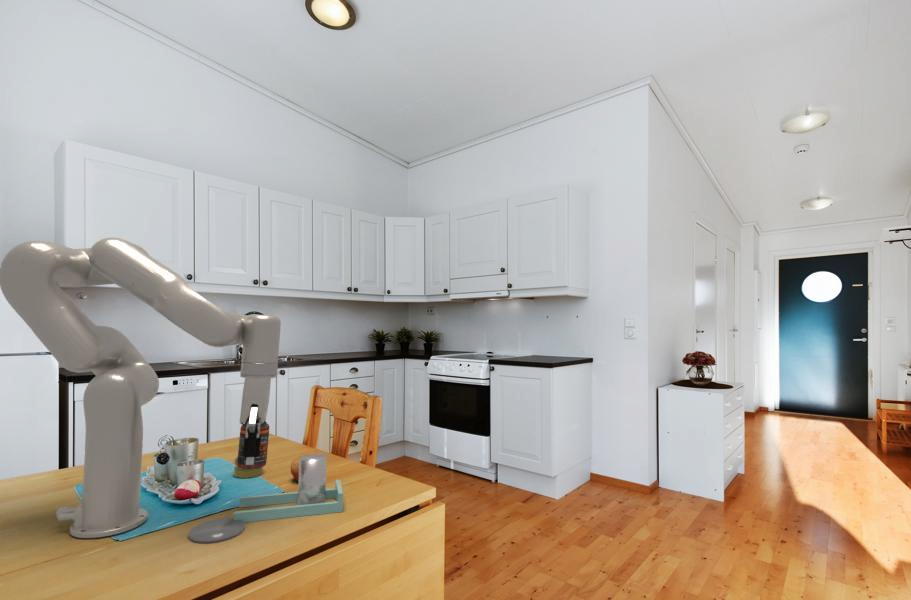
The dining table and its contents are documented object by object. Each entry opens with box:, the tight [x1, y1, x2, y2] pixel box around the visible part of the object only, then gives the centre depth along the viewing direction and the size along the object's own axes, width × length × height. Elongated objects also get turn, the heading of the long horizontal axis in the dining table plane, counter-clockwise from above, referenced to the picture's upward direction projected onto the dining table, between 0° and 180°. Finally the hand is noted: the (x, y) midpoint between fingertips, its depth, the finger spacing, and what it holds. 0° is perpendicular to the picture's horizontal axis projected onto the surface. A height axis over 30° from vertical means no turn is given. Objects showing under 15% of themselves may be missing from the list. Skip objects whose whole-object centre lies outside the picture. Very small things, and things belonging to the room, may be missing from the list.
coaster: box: [187, 517, 246, 544], centre depth 91 cm, size 10×10×1 cm
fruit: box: [290, 452, 317, 482], centre depth 123 cm, size 8×8×8 cm
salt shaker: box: [233, 456, 264, 479], centre depth 126 cm, size 7×7×10 cm
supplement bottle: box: [237, 417, 270, 469], centre depth 101 cm, size 6×6×11 cm
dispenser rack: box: [233, 479, 344, 523], centre depth 103 cm, size 22×10×4 cm, turn 108°
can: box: [297, 453, 328, 505], centre depth 105 cm, size 6×6×11 cm
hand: (252, 451), depth 101 cm, fingers closed on supplement bottle, 6 cm apart
